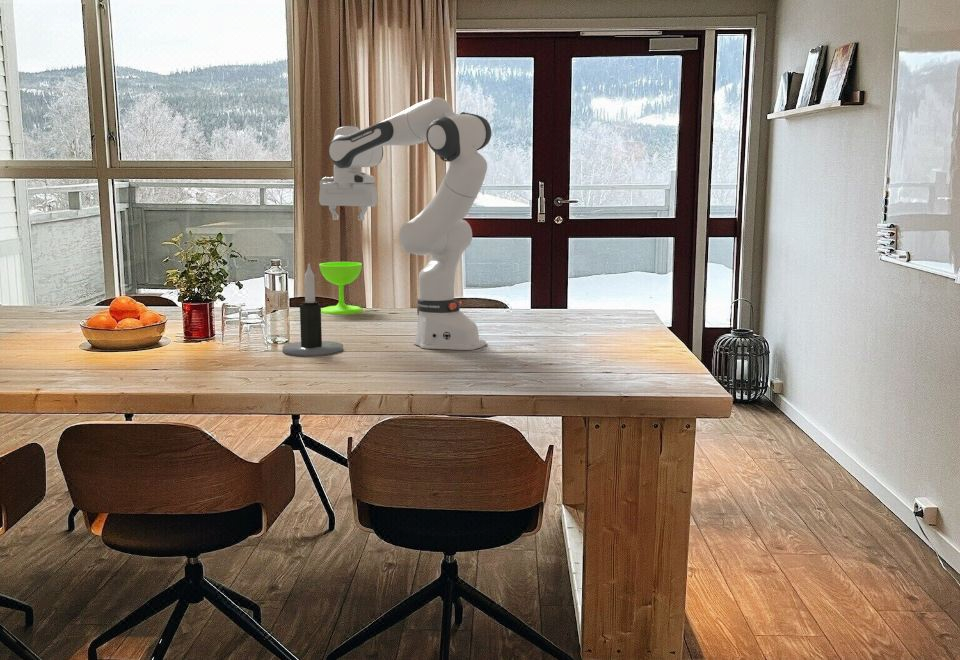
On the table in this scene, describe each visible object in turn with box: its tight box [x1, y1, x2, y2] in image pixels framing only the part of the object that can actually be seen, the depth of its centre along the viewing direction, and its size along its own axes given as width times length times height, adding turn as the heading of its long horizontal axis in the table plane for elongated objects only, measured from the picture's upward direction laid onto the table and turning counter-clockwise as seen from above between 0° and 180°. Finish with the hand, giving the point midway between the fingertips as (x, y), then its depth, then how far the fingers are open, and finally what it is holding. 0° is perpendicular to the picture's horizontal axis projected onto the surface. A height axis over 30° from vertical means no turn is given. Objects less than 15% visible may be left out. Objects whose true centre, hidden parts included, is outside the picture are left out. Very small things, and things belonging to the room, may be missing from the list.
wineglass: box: [318, 261, 364, 316], centre depth 351 cm, size 16×16×18 cm
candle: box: [299, 263, 323, 348], centre depth 277 cm, size 5×5×25 cm
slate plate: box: [281, 340, 344, 357], centre depth 279 cm, size 18×18×1 cm
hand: (348, 220), depth 303 cm, fingers open, 8 cm apart
